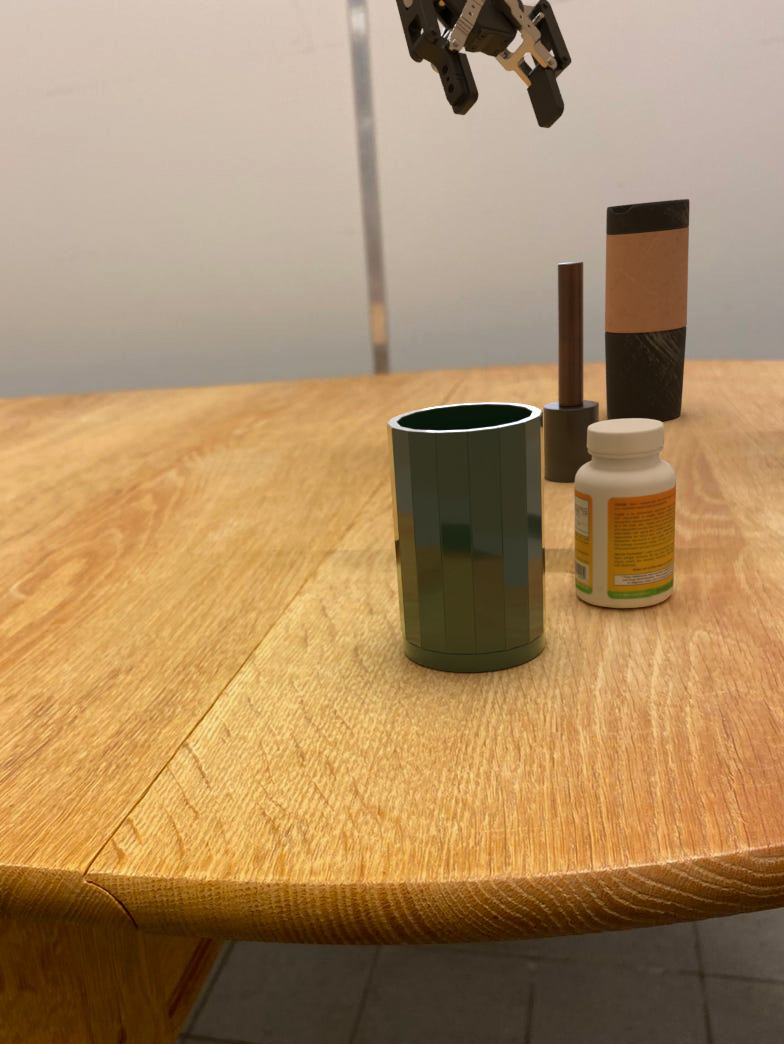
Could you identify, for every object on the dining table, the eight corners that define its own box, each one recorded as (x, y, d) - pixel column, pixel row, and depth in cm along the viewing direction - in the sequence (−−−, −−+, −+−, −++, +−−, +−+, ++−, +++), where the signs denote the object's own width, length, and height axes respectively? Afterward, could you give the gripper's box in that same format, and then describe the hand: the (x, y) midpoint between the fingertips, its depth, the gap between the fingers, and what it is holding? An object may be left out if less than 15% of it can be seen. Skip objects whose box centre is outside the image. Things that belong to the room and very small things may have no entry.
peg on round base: (599, 489, 83) (600, 258, 76) (597, 502, 79) (598, 262, 73) (547, 490, 84) (543, 263, 78) (542, 503, 80) (538, 267, 74)
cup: (551, 620, 58) (548, 399, 54) (538, 675, 52) (533, 428, 47) (418, 618, 60) (405, 406, 56) (389, 670, 54) (372, 435, 50)
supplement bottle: (690, 588, 61) (696, 417, 57) (643, 617, 57) (647, 437, 54) (605, 573, 64) (606, 412, 61) (556, 600, 61) (554, 431, 57)
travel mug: (680, 407, 110) (686, 198, 102) (687, 421, 103) (694, 198, 96) (603, 411, 112) (604, 206, 104) (605, 425, 105) (606, 207, 97)
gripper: (406, -131, 76) (467, 65, 73) (551, -89, 83) (612, 91, 81) (353, -46, 82) (408, 137, 80) (493, -14, 90) (548, 156, 87)
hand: (511, 114), depth 80 cm, fingers open, 8 cm apart
